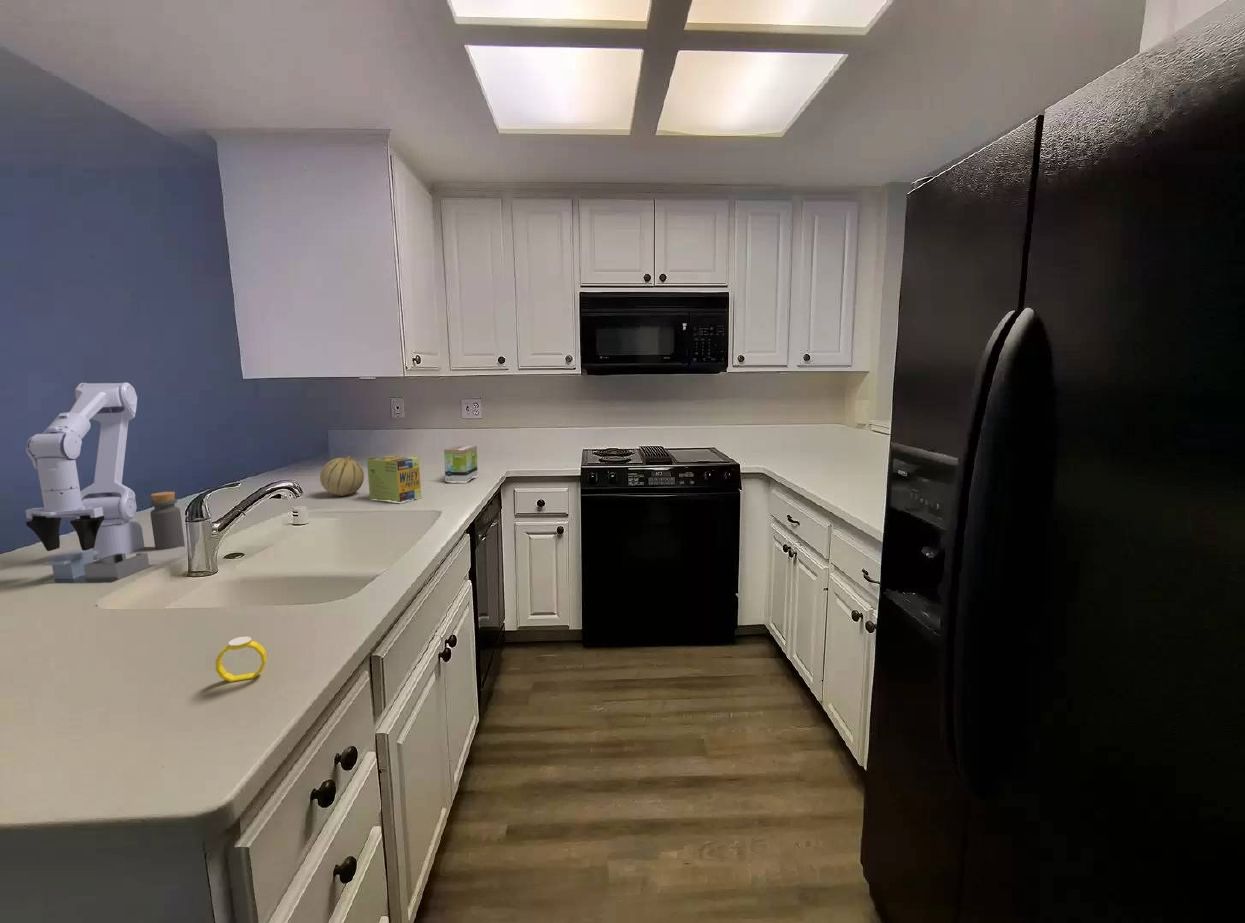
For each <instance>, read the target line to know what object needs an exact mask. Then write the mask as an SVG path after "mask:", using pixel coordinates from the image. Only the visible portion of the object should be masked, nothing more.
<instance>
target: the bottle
mask: <svg viewBox="0 0 1245 923" xmlns="http://www.w3.org/2000/svg"><path fill="white" fill-rule="evenodd" d="M175 494H176V493H175V491H161V492H156V493H152V494H150V497H151V500H152V501H150V505H151V507H154V509H152V510H151V511H150V520H151V521H150V522H151V527H152V535H153V541H154V542H153V543H154V548H155V550H158V551H163V550H172V549H177V548H180V547H181V548H183V547H186V543H185V537H184V529H183V523H182V522H183V521H182V514H181V508H180V507H177V506H176V505H175V504H177V502H178V500H177V498H176V497H175Z"/></svg>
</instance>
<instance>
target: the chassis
mask: <svg viewBox="0 0 1245 923" xmlns="http://www.w3.org/2000/svg"><path fill="white" fill-rule="evenodd" d="M126 555H127V554H126ZM126 555H125V553H117V554H114V555H111V556H108V557H105V558H102V559H96V560H94V562H91V563H88V564H85V565H84V571H85V575H82V576H79V577H77V578H74V579H54V578H51V579H49V580H46V581H43V582H41V583H39V584H41V585H42V584H48V585H49V584H99V583H100V584H106V583H107V584H109V583H111V584H112V583H114V582H117V581H120V580H121V579H124V578H127V577H129V576H132V575H134V574H137V573H139V572H141V571H144V570H147V569H149V568H152V567H154V566H155V564H150V561H149V554H148V553H147V552H139V553H136V555H134V556H132V557H129V558H127V556H126Z"/></svg>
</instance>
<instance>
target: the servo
mask: <svg viewBox="0 0 1245 923" xmlns="http://www.w3.org/2000/svg"><path fill="white" fill-rule="evenodd" d="M96 554H99V553H98V551H92V549H89V550H82V548H81V549H71V550H67V551H65V552H61V553H59V554H55V555H52V556H50V560H48V561H45V562H44V565H45V566H51V567H52V573H53V579H74V578H77V577H79V576H82V575H85V571H84V565H85V564H88V563H91V562H94V561H95V560H94V559H95V558H93V555H96Z"/></svg>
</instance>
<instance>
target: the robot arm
mask: <svg viewBox="0 0 1245 923" xmlns="http://www.w3.org/2000/svg"><path fill="white" fill-rule="evenodd" d="M74 390H75V391H74V392H75V393H74V394H75V399H76V401H75V402H74V404H73V405H72V407H71V408H70V410H69V412H67V411H65V412H61V413H59V414H58V415H57V416H56V418H54V419H53V421H52V422H51V423H50V424H49V426H48V427H47V428H46V429H44V431H43V432H42V433H36V434H34V435H33V436H30V437H29V438H28V440H27V442H26V448H25V450H26V454H27V455H28V457H29V459H30V460H31V462H32V467H33V468H34V470H37V473H38V474H37V475H38V479H39V484H40V490H41V496H42V501H43V507H33V508H28V509H25V516H26V519H31V520H29V521H26V522H25V525H26V526H27V527H28V528H29V529H30V530H32V531H33V532H34V533H35V535H36V536H37V537H38V538H39V540H40V541H41V544H42V545H43V547H44V549H45V550H46V552H51V551H55V550H59V549H60V545H61V540H60V539H61V538H60V526H61V521H62V518H76V519H73V520H70V521H69V523H70V524H71V526H72V528H74V530H75V532H76V535H77V537H78V541H79V545H80V548H81V549H82V550H89V549H92V551H98V553H99V554H96V555H93V558H94V559H96V560H99V559H102V558H105V557H108V556H111V555H114V554H117V553H125V555H129V554H132V553H133V552H135V551H138V550H140V549H144V548H145V542H144V541H145V540H144V534H143V533H144V532H143V527H142V525H141V523H140V522H139V521H138V520H137V519H135V518H134V517H135V515H136V513H137V509H138V508H137V502H136V493H135V492H134V490H133V489H131V488H130V487H128V486H126V485H124V484H123V476H124V467H125V455H126V449H127V440H128V439H127V438H128V428H129V421H131V420H133V419H134V418H135V417H136V412H137V406H138V404H137V403H138V395H137V393H136V390H135V388H134V386H132V385H131V383H129V382H119V383H117V382H114V383H113V382H112V383H110V382H105V383H104V382H101V383H99V382H98V383H97V382H96V383H94V382H93V383H87V382H80V383H79V384H78V385H77V387H76V388H75V389H74ZM90 420H94V421H97V422H99V424H100V429H99V430H100V431H99V439H98V445H97V446H98V447H97V454H96V463H95V471H94V479H93V483H92V484H90V485H89V486H87V487H85V488H83V489H82V490H81V487H80V482H79V474H78V469H77V468H78V467H77V463H76V459H77V458H78V457H79V456H80V454H81V448H82V445H83V441H82V440H83V439H84V437H85V436H86V434H87V433H88V432H89V431H90V430H91V425H92V424H91V422H90Z"/></svg>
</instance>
